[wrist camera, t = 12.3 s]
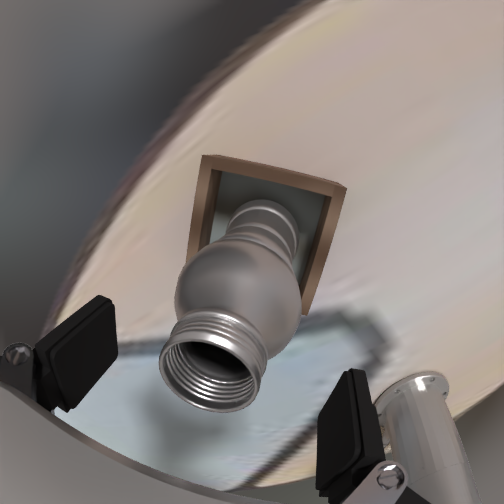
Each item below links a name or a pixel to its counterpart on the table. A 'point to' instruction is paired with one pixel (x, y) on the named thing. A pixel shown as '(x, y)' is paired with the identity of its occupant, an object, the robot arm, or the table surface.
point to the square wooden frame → (275, 189)
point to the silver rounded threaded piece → (234, 310)
